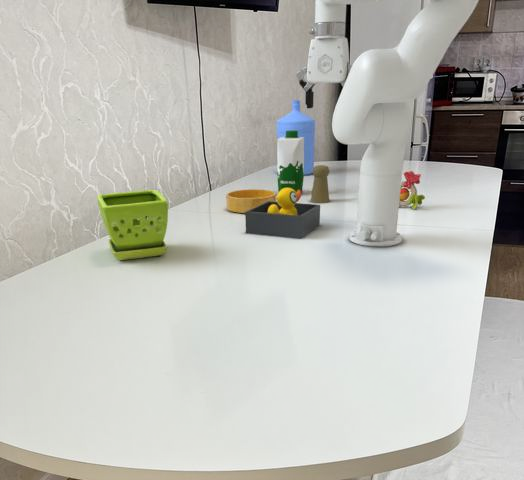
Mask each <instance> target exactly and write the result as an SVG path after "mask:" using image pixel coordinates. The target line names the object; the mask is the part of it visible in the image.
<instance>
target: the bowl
mask: <svg viewBox="0 0 524 480" xmlns="http://www.w3.org/2000/svg"><path fill="white" fill-rule="evenodd" d="M276 197H277V192H276V191H273V190H270V189H261V188H259V189H258V188H257V189H256V188H254V189H253V188H249V189H239V190H233V191H229V192H227V193H226V194H225V202H226V203H225V204H226V210H228V211H230V212H233V213H238V214H245V212H246V211H248V210H250V209H252V208H254V207H256V206H259V205H261V204H263V203H265V202H267V201H274V202H277V199H276Z"/></svg>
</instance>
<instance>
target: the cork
mask: <svg viewBox="0 0 524 480" xmlns="http://www.w3.org/2000/svg"><path fill="white" fill-rule="evenodd" d="M329 174H330V168H329V167H328V166H327V165H324V164H320V165H319V164H318V165H314V168H313V173H312V175H313V183H312V189H311V198H310V202H311V203H314V204H326V203H330V193H329V182H328V176H329Z"/></svg>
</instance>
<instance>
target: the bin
mask: <svg viewBox="0 0 524 480" xmlns="http://www.w3.org/2000/svg"><path fill="white" fill-rule="evenodd" d="M273 204H275V205H277V207H278V209H279V211H280V209H281V208H282V207H280V206H279V205H278V203H277V201H276V202H274V201H267V202H265V203H263V204H261V205H259V206H256V207H254V208H252V209H250V210H248V211H246V212H245V213H244V217H245V220H244V221H245V234H249V235H250V234H251V235H261V236H270V237H271V236H272V237H280V238H281V237H282V238H292V239H303V238H304V237H306V236H307V235H308V234H309V233H311V232H312V231H314V230H315V229H317V228H318V227H320V225H321V220H320V219H321V204H316V203H314V204H313V203H300V202H299V203H298V202H296V203H295V205H294V207H295V208H296V210H297V213H298V215H286V214H273V213H267V212H268V208H269V207H270V205H273Z"/></svg>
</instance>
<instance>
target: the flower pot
mask: <svg viewBox="0 0 524 480" xmlns="http://www.w3.org/2000/svg"><path fill="white" fill-rule="evenodd" d="M96 198H97V203H98V207H99V212H100V215H101V219H102V222H103V224H104V227H105V229H106V231H107V234H108V236H109V239H108V240H107V241H108V245H109V247H110V248H109V249H110V251H111V252H112V254H113V257H115V258H116V259H117V260H119V261H125V260H134V259H143V258H150V257H161V256H162V255H163V254H164V253H165V252H166V251H167V250H168V245H167V244H166V242H165V241H164V240H165V237H166V233H167V229H168V228H167V227H168V221H169V204H168V200H167V198H166V197H165V196H164V195H163V194H162V193H161V192H160V191H158V190H156V189H147V190H134V191H124V192H123V191H121V192H112V193H104V194H97V197H96Z"/></svg>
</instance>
